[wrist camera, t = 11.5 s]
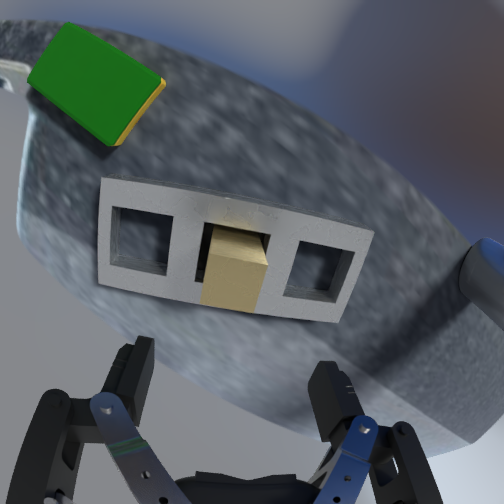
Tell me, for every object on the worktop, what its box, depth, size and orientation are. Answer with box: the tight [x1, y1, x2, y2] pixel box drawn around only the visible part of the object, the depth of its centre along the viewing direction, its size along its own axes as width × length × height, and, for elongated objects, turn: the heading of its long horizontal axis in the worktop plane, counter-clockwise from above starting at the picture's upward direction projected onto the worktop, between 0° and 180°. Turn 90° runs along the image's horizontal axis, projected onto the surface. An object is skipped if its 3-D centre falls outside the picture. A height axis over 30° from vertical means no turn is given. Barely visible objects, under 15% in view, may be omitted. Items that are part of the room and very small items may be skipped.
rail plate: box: [98, 174, 374, 323], centre depth 24 cm, size 24×10×2 cm, turn 77°
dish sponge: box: [27, 22, 166, 146], centre depth 17 cm, size 7×14×2 cm, turn 49°
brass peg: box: [200, 224, 268, 313], centre depth 22 cm, size 4×4×7 cm
